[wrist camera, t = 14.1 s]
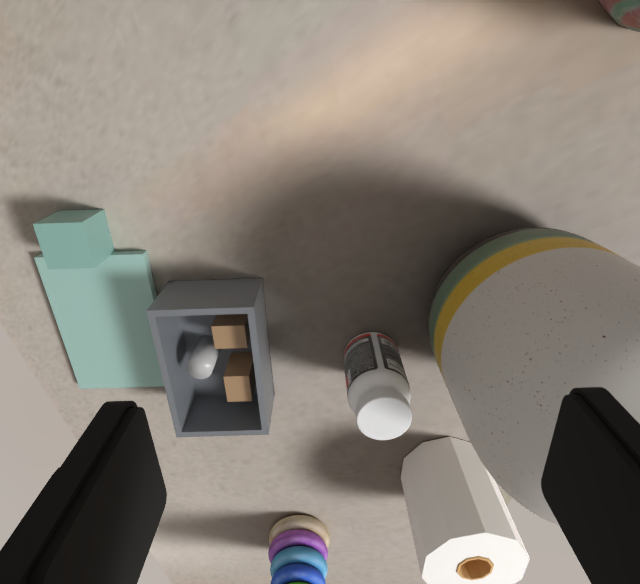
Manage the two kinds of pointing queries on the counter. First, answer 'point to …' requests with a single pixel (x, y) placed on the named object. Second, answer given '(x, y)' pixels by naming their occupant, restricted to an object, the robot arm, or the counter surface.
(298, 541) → the stacking toy
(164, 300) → the tub
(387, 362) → the pill bottle
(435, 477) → the toilet paper
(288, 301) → the counter surface
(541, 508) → the vase
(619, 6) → the potted plant
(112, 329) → the mint slab with cube
